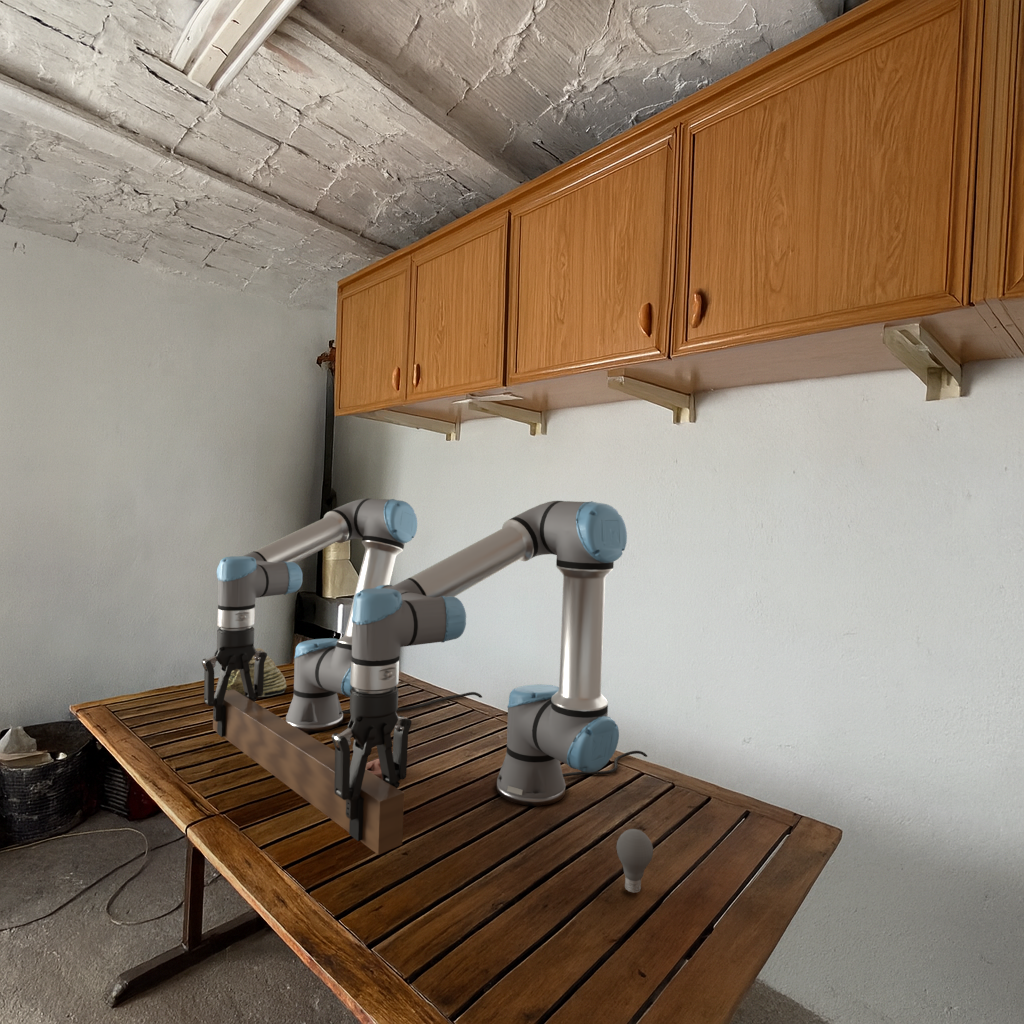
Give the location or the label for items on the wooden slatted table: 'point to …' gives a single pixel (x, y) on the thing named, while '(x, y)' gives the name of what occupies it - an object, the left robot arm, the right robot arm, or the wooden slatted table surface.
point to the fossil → (272, 678)
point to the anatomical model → (374, 768)
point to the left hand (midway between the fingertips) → (233, 731)
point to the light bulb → (634, 857)
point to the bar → (312, 770)
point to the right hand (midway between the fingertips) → (369, 830)
